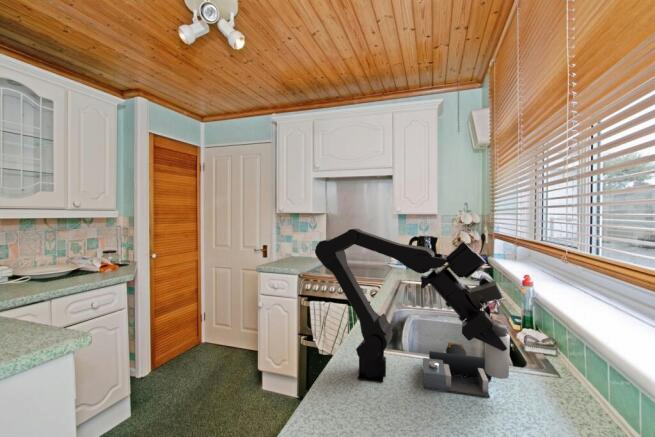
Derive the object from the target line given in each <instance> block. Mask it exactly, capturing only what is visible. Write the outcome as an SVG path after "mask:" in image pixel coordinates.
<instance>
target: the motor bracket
mask: <svg viewBox="0 0 655 437" xmlns="http://www.w3.org/2000/svg"><path fill="white" fill-rule="evenodd" d="M422 377H423V378H422V380H423V389H424V390H430V391H436V392H444V393H449V394H450V393H451V394H459V395H466V396H472V397H480V398H484V399H485V398H487V399H490V398H491V395H490V393H489V379H487V377H486V374H485V372H484V370H483V368H478V377H470V376H463V375H456V374H451V373H450V369H449V365H448V364H443V360H437V359H429V357H428V358H427V357H422Z"/></svg>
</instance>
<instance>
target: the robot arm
mask: <svg viewBox="0 0 655 437" xmlns="http://www.w3.org/2000/svg"><path fill="white" fill-rule="evenodd" d="M354 245H356V246H359V247H362V248H364V249H367V250H370V251H372V252H374V253H378V254H380V255H384V256H386V257H389V258H392V259H394V260H395V261H398V262H399V263H400V264H402V265H403V266H404V267H407V268H408V269H410V270H412V271H413V272H415V273H418V274H425V273H428V272H429V273H428V274H427V275H421V276H420V281H421V282H420V288H421V289H423V290H424V289H425V288H426V287H427V286H428V285H429V286H430V287H432V288H433V290H434V291H435V292H436V293H437V294H438V295H439V296H440V297H441V299H443V301H444V302H445V306H447V307H448V308H451V309H452V311H454V312H455V313H456V314H457V315H458V320H459V321H460V322H461V334H462V335H463V336H464V338H466V339H465V340H467V341H468V342H469V341H472V340H473V339H475V340H478V341H480V342H481V343H482V342H483V343H484V344H485V343H487V344H489V345H491V346H493V347H495V348H497V349H499V350H501V351H505V350H507V347H506V346H505V344H504V343H503V341H502V340H501V338H500V337H499V336H498V334H497V333H496V331H495V330H494V328H493V322H494V319H493V316H491V307H490V305H488V303H489V302H493V301H495V300H496V301H498V300H501V299H503V298H504V296H503V294H502V292H501V290H500V288H499V286H498V283H497V281H496V280H489V279H488V278H487V277H483V278H480V279H479V280H478V281H479V282H478V285H475V287H470V286H469V285H468V284H463V283H462V282H461V281H460V280H459V279H458V278H460V279H461V278H466V279H468V278H470V277H471V276H472V275H473V274H475V273H476V272H477V271H478V270H479V269H481V268H482V267H484V266H485V265H486V264H487V261H486V260H485V259H484V257H482V256H481V255H480V254H479V253H478V251H476V250H475V249H473V248H472V247H470V245H468V244H467V243H466V242H465V241H462V242H460V243H459V244H458V246H457V247H456V248H455V249H453V250H452V251H451V252H450V253H449V254H442V253H438V252H434V251H433V250H432V249H431V248H429V247H426V246H420V245H413V244H404V243H399V242H396V241H393V240H391V239H388V238H384V237H382V236H378V235H376V234H373V233H370V232H367V231H364V230H362V229H360V228H351V229H348V230H347V231H345V232H344V233H342V234H340V235H338V236H335V237H333V238H329V239H323V240H320V241H319V242H318V243H317V244H316V245H315V249H314V253H315V257H316V258H317V259H318V260H319V262H320V263H321V265H323V267H324V268H326V269H327V270H328V271H330V272H331V273H332V274H333V276H334V278H335V280H336V281H337V283H338V284H339V287H340V288H341V290H342V292H343V294H344V295H345V297H346V299H347V301H348V302H349V305H350V306H351V308H352V310H353V311H354V313H355V315H356V317H357V319H358V321H359V325H360V326H359V327H360V331H361V335H362V338H363V340H362V341H361V342H360V344H359V345H358V346H357V347H356V348H355V351H356V354H357V356H358V374H357V379H358V380H361V381H368V382H374V383H375V382H376V383H383V382H384V379H385V377H386V374H387V357H386V356H385V350H386V348H387V347H388V345H389V344H390V342H391V340H392V338H393V330H392V328H393V325H392V324H391V323H390V322H389V321H388V318H387V315H386V314H385V313H382V314H379V313H378V312H376V311H375V310H374V309H373V306H372V304H370V301H369V299H368V298H367V296H366V295H365V292H364V291H363V289H362V288H361V286H360V284H359V283H358V281H357V279H356V278H355V276H354V275H355V274H353V272H352V270H351V269H350V267H349V265H348V259H347V254H346V251H345V250H347V249H349V248H350V247H353V246H354ZM446 263H447V264H446ZM445 264H446V265H445ZM444 265H445V266H444ZM438 268H439V270H438ZM432 269H433V270H432ZM449 269H450V270H449ZM431 270H432V271H431ZM452 272H453V273H452ZM457 277H458V278H457ZM484 305H487V306H486V307H484ZM483 307H484V308H483Z"/></svg>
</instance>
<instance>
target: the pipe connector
mask: <svg viewBox="0 0 655 437" xmlns="http://www.w3.org/2000/svg"><path fill="white" fill-rule="evenodd" d="M428 358H429V359H437V360H443V364H448V365H449V369H450V373H451V374H453V375H461V376H469V377H477V378H478V368H483V370H484V372H485V357H482V356H472V355H467V352H466V349H465V346H464V345H463V343H456V342H454V343H453V342H447V347H446V349H445V352H440V351H439V352H438V351H430V350H429V353H428ZM485 374H486V373H485ZM486 377H487V379H488V380H492V378H493V377H492V376H490V375H488V374H486Z"/></svg>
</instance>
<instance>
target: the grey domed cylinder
mask: <svg viewBox="0 0 655 437" xmlns="http://www.w3.org/2000/svg"><path fill="white" fill-rule="evenodd" d="M507 327H508V326H507V325H506V324H504V323H503V322H498V321H493V328H494V330H495V331H496V333H497V334H498V336H499V337H500V338H501V340H502V341H503V343H504V344H505V346H506V347H507V350H505V351H501V350H499V349H497V348H495V347H493V346H491V345H489V344H487V343H485V342H484V358H485V373H486V374H488V375H490V376H492V378H494V379H500V380H501V379H502V380H506V379H509V377H510V346H511V345H510V340H511V338H510V337H511V335H510V334H509V333H507V332H508V328H507Z"/></svg>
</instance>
